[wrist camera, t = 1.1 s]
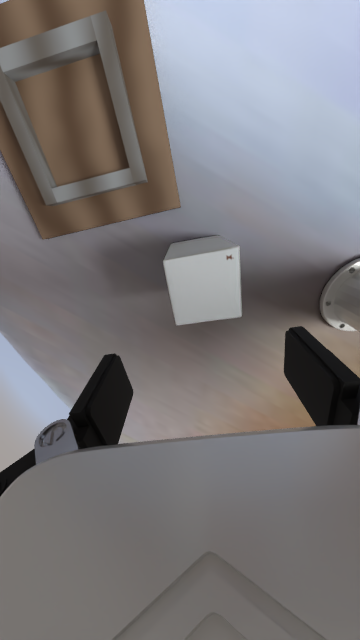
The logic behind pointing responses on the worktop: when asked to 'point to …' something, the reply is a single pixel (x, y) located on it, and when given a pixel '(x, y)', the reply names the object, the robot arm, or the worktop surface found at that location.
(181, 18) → the worktop surface
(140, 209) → the pocket board
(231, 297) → the supplement box
